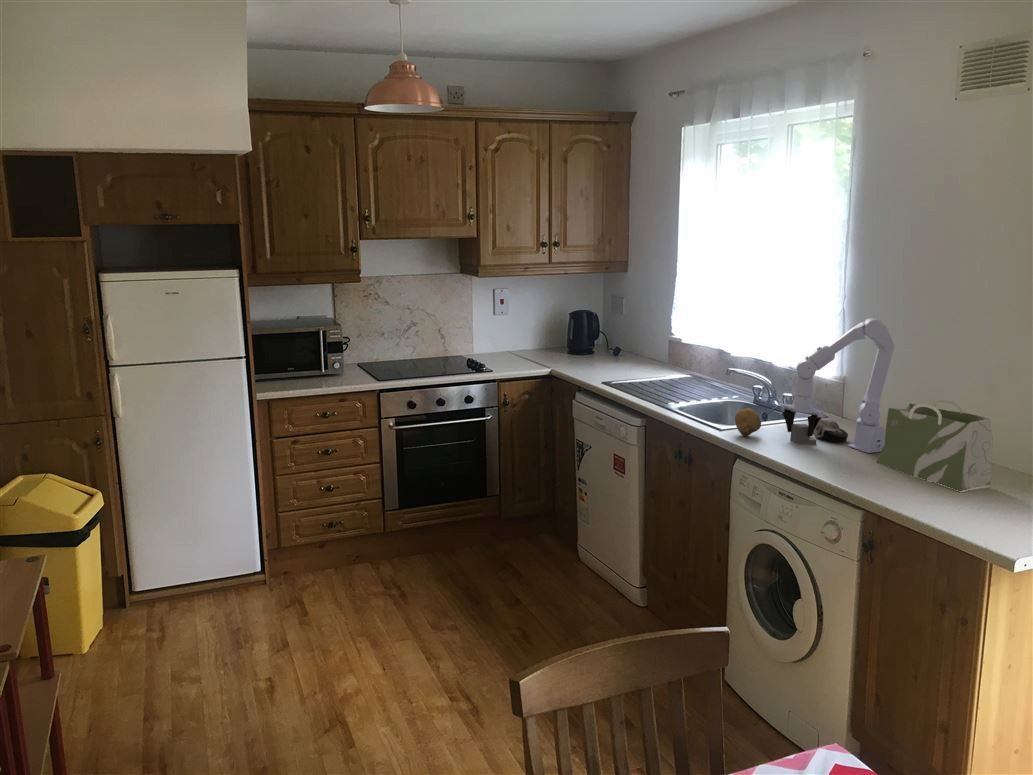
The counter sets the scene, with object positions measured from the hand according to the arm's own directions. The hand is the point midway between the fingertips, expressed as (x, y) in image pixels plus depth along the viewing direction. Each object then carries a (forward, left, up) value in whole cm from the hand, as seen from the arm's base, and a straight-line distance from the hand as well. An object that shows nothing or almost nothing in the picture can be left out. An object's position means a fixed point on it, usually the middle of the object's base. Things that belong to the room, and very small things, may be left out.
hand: (800, 433), depth 299 cm
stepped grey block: (0, -1, -3) cm, 3 cm away
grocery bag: (-44, -12, -3) cm, 46 cm away
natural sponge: (+13, +12, -3) cm, 18 cm away
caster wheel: (0, -14, -3) cm, 14 cm away
